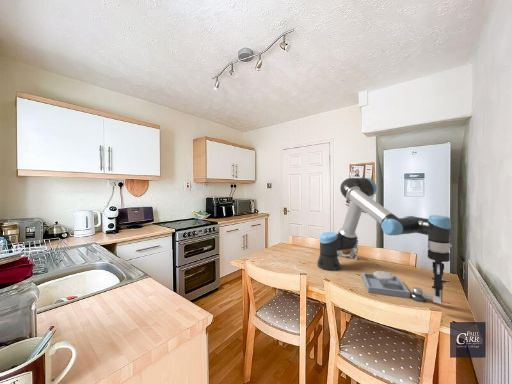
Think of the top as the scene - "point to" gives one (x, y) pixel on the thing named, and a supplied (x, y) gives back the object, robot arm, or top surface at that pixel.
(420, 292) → the crank
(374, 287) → the tray
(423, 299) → the crank base
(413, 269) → the top surface
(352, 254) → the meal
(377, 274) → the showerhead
